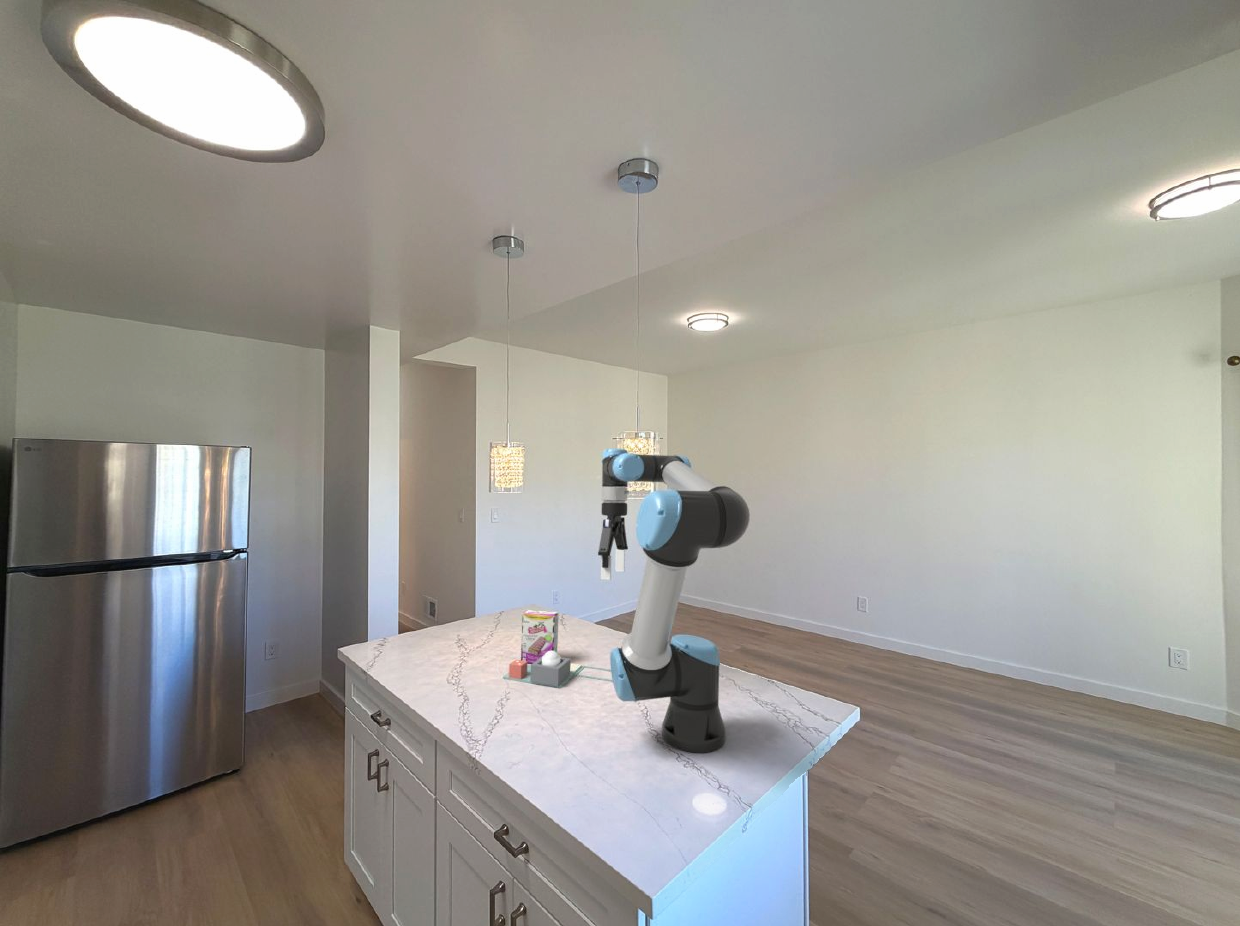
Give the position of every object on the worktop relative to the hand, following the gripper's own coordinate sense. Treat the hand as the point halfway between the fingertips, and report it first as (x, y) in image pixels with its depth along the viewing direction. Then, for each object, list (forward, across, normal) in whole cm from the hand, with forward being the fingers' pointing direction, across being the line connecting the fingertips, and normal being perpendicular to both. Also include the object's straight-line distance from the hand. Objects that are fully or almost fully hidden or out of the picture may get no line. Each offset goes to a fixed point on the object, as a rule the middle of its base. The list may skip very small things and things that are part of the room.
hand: (613, 575), depth 144 cm
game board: (+33, +8, +25) cm, 42 cm away
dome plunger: (+31, +3, +20) cm, 37 cm away
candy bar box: (+33, +13, +29) cm, 46 cm away
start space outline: (+34, +13, +8) cm, 37 cm away
